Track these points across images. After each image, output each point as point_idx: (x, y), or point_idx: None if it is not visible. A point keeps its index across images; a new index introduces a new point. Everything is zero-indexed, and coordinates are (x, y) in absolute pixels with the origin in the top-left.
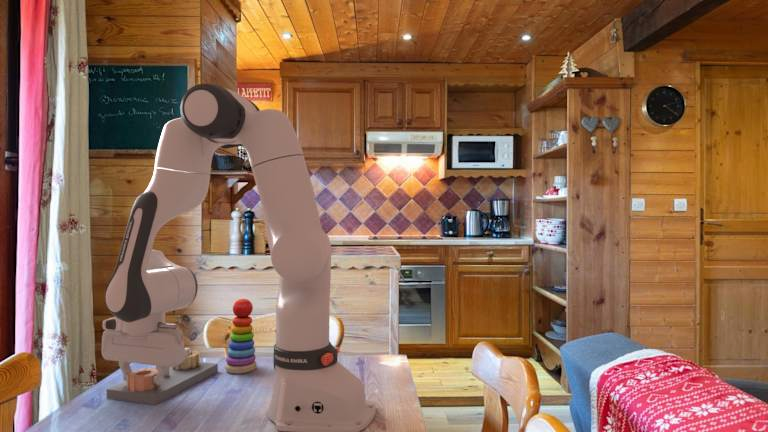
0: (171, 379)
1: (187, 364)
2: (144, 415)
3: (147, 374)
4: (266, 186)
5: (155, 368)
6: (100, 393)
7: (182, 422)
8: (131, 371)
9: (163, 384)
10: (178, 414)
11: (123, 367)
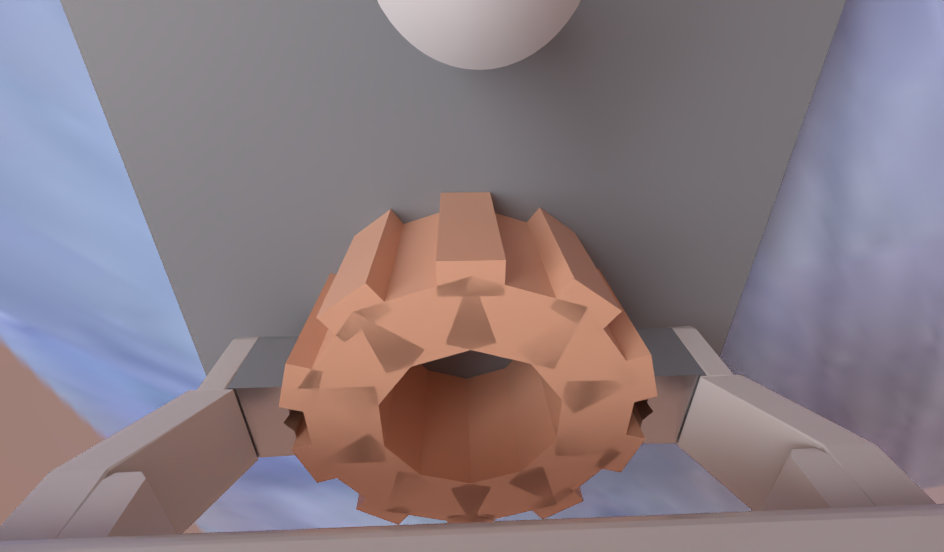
0: (633, 86)
1: None
2: (683, 472)
3: (554, 441)
4: None
5: (492, 263)
6: (121, 349)
7: (919, 471)
8: (248, 399)
9: (630, 244)
10: (870, 424)
11: (182, 520)
